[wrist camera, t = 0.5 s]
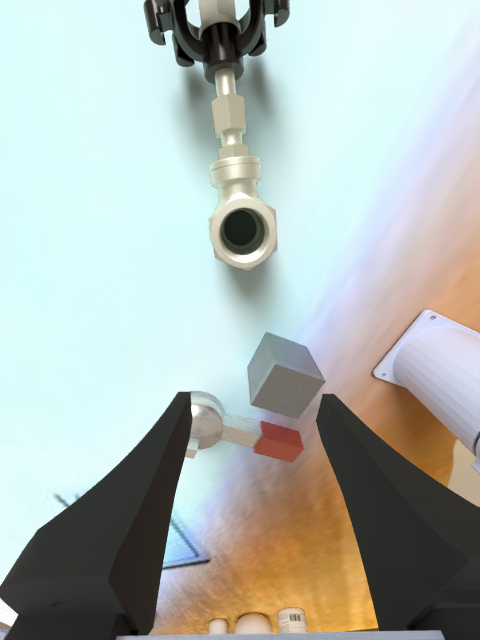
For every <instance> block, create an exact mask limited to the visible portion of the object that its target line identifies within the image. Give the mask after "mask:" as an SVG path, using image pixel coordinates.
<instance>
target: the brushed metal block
mask: <svg viewBox="0 0 480 640" xmlns="http://www.w3.org/2000/svg"><path fill="white" fill-rule="evenodd" d="M248 378H249V389H250V400H251V405H253V406H256V407H260V408H263V409H266V410H270V411H273V412H276V413H280V414H283V415H286V416H290V417H293V418H296V419H298V418H299V417H300V415H301V414H302V413H303V411H304V410H305V409H306V407H307V406H308V404H309V403H310V402H311V400H312V399H313V398H314V396H315V395H316V394H317V392H318V391H319V390H320V388H321V387H322V385H323V384H324V383H325V379H324V377H323V376H322V374H321V372H320V370H319V369H318V367H317V365H316V363H315V361H314V360H313V358H312V356H311V354H310V352H309V351H308V349H307V347H305V346H303V345H300V344H297V343H295V342H292V341H289V340H286V339H284V338H281V337H278V336H276V335H273V334H270V333H268V332H266V333H265V335H264V337H263V339H262V341H261V343H260V345H259V347H258V348H257V350H256V352H255V354H254V356H253V358H252V360H251V361H250V363H249V365H248Z"/></svg>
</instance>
